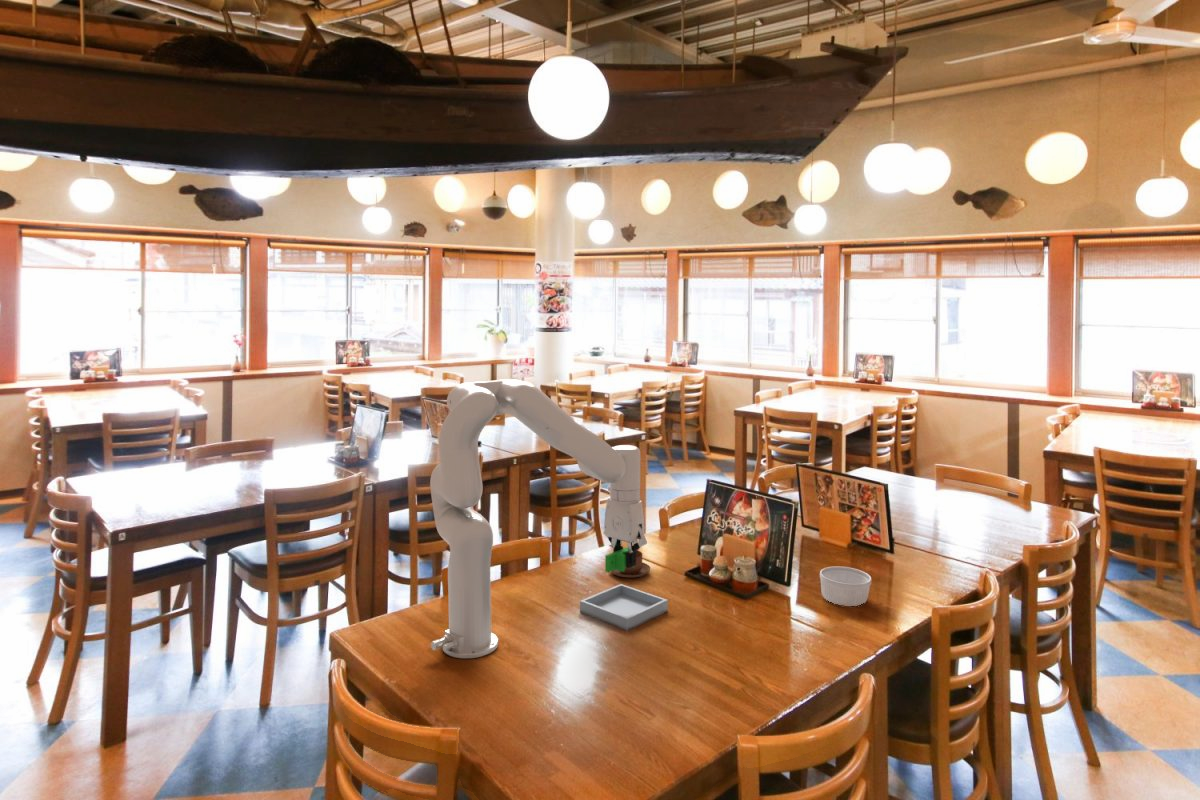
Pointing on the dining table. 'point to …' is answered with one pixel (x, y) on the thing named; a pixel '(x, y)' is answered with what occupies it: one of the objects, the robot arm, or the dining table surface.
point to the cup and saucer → (634, 568)
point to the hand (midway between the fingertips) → (624, 563)
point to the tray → (624, 606)
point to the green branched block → (616, 560)
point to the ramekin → (845, 585)
